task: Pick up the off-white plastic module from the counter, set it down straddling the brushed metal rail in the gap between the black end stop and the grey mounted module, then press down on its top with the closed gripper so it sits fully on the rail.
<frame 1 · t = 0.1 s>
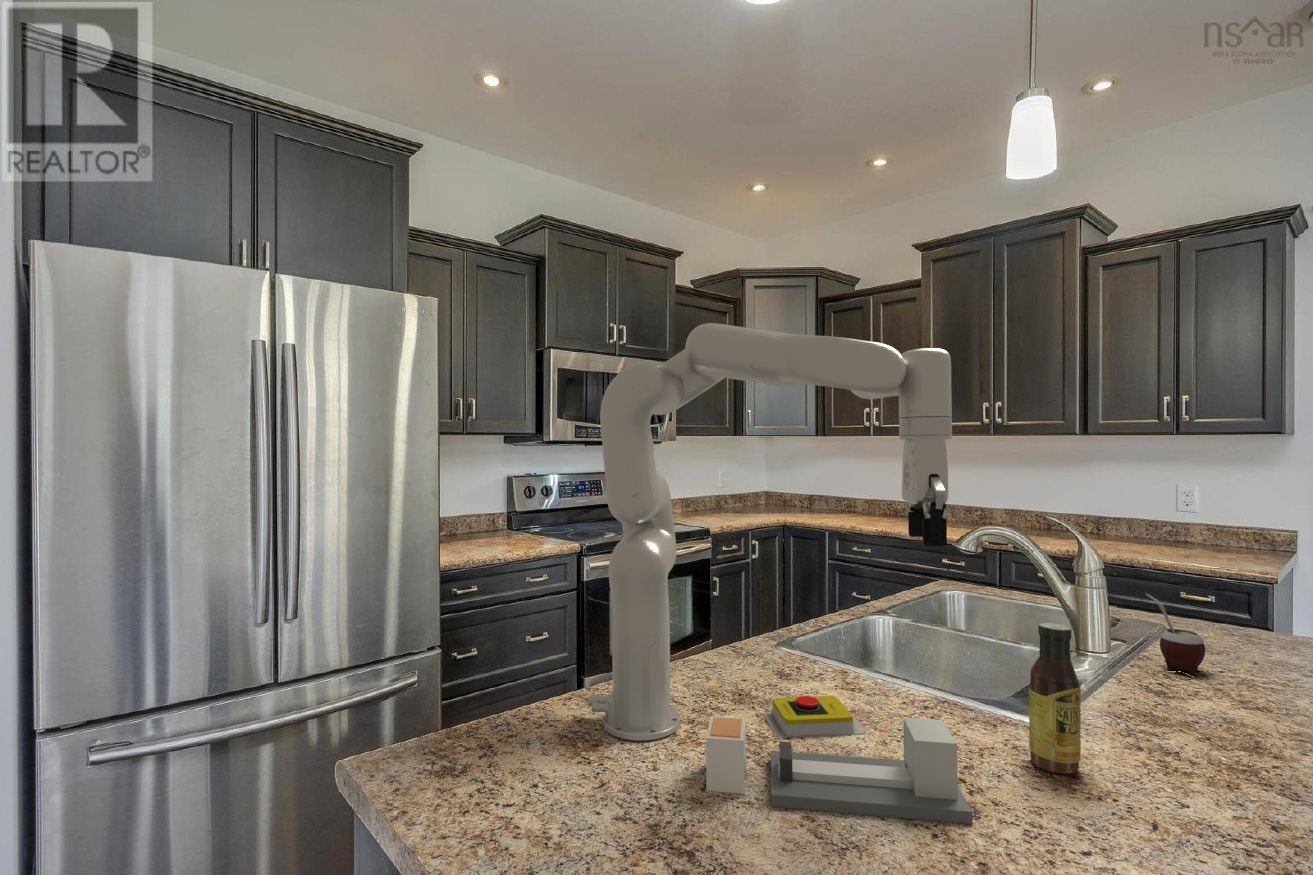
hand: (926, 540, 99), 31 cm above the countertop, tool pointing down, fingers open, 9 cm apart
rail board: (862, 789, 86), on the countertop
emergency button: (813, 727, 106), on the countertop
module: (727, 778, 89), on the countertop
sauce bottle: (1055, 767, 92), on the countertop
mate gourd: (1179, 672, 129), on the countertop
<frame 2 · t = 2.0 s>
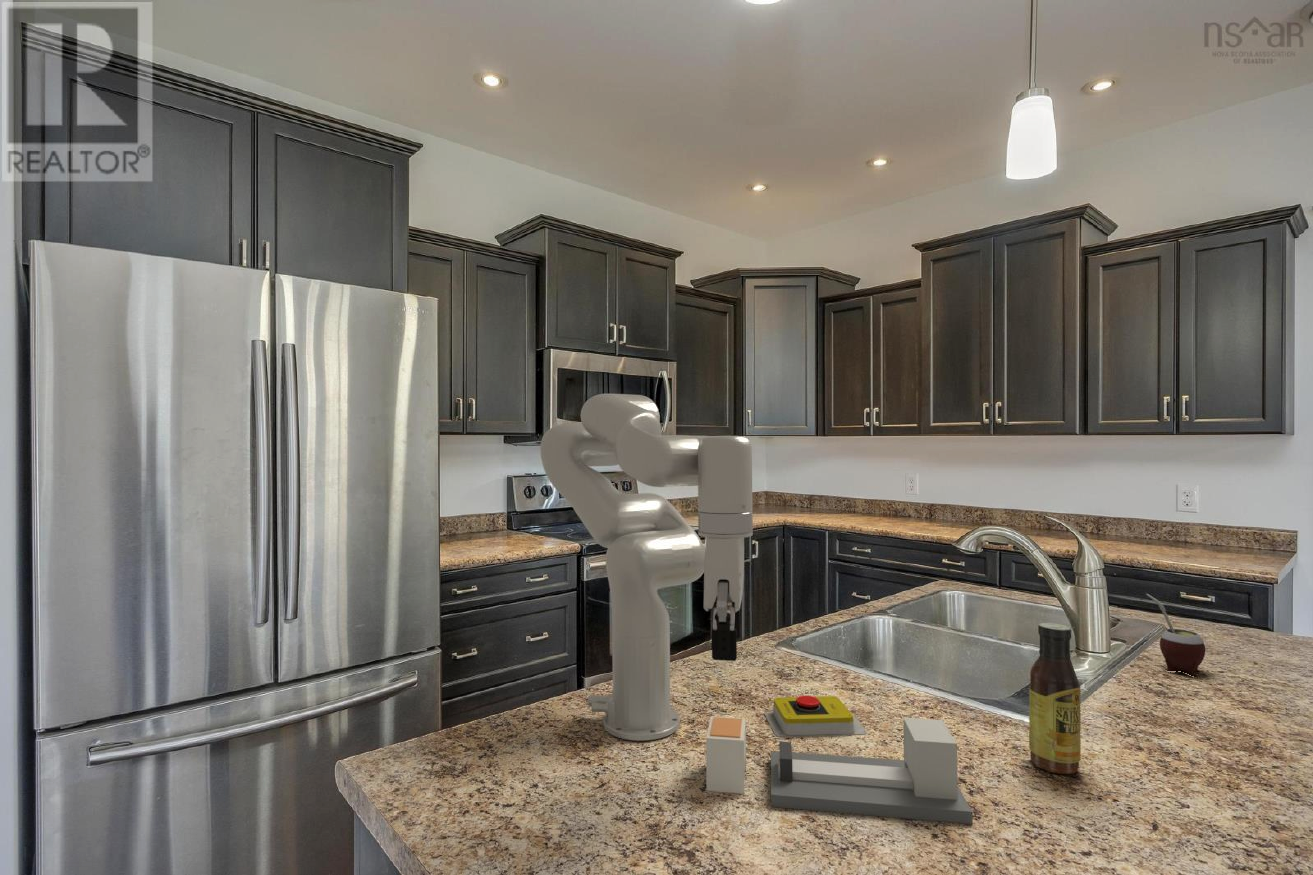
hand: (726, 648, 89), 18 cm above the countertop, tool pointing down, fingers open, 9 cm apart
nothing on the countertop moved.
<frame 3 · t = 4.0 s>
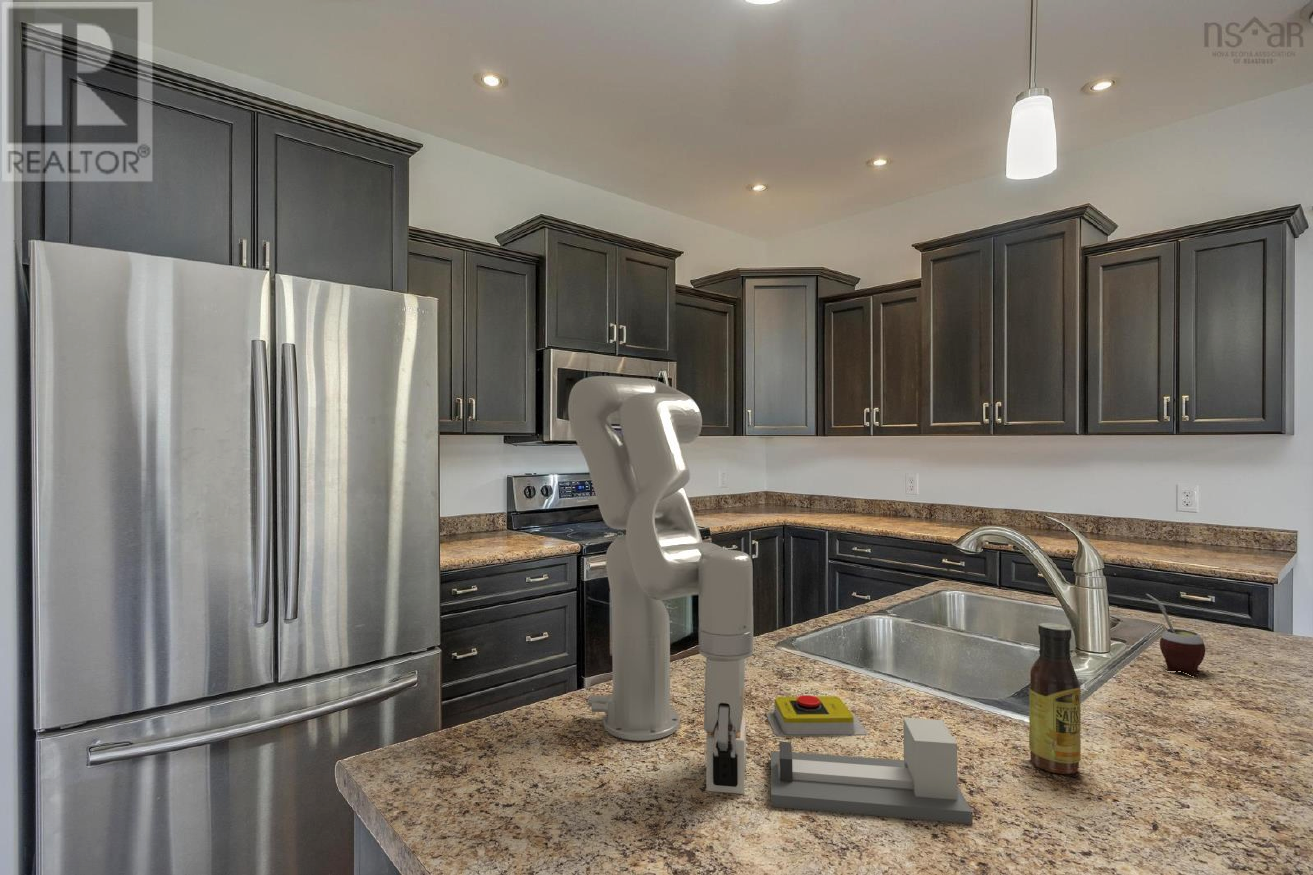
hand: (727, 769, 89), 1 cm above the countertop, tool pointing down, fingers closed on module, 7 cm apart
module: (727, 779, 89), on the countertop, touching gripper
everything else where it was.
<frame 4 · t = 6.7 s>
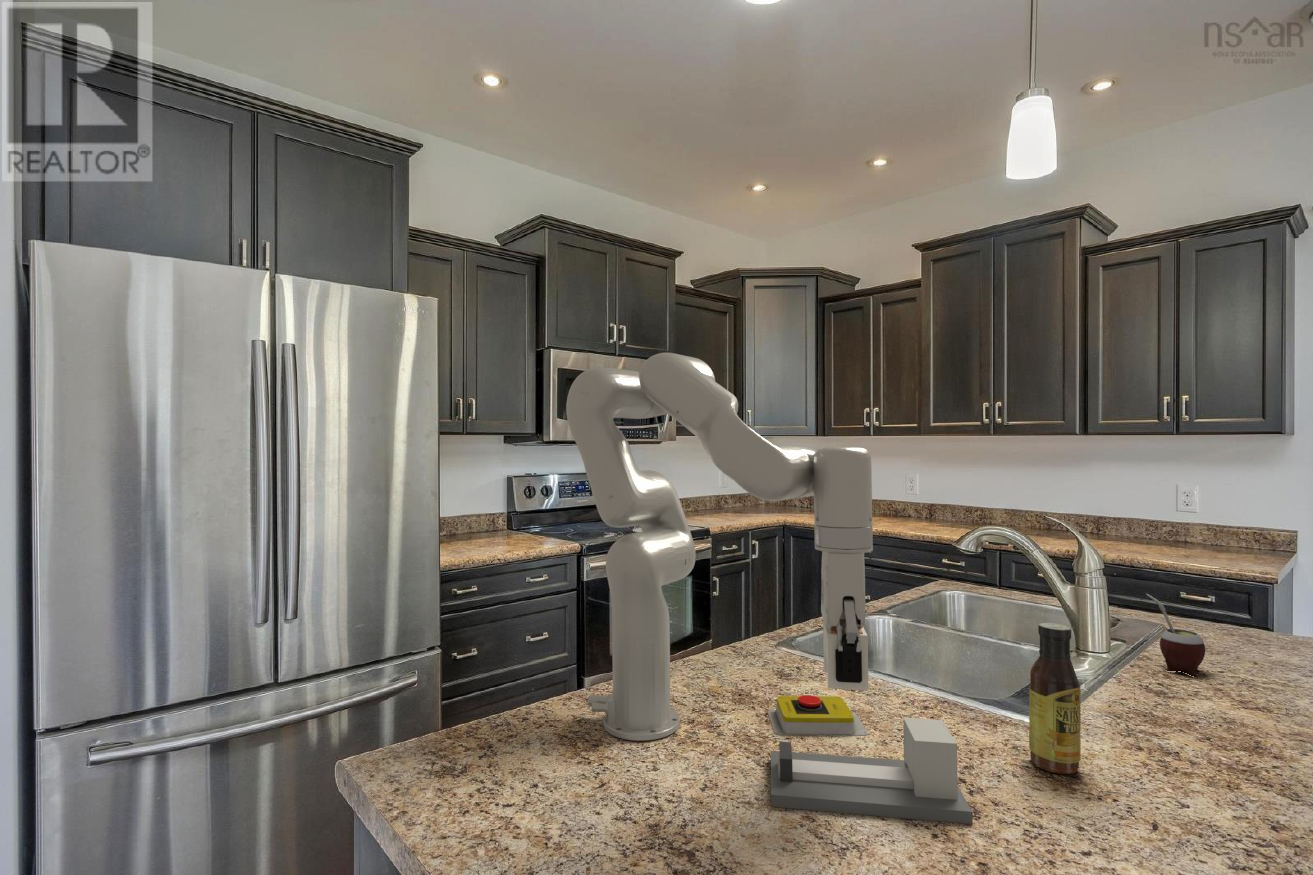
hand: (845, 670, 86), 16 cm above the countertop, tool pointing down, fingers closed on module, 7 cm apart
module: (845, 679, 86), point 15 cm above the countertop, touching gripper
everything else where it was.
when the fingers open (4 cm above the countertop, at t = 9.4 s): module stays where it is, resting on rail board.
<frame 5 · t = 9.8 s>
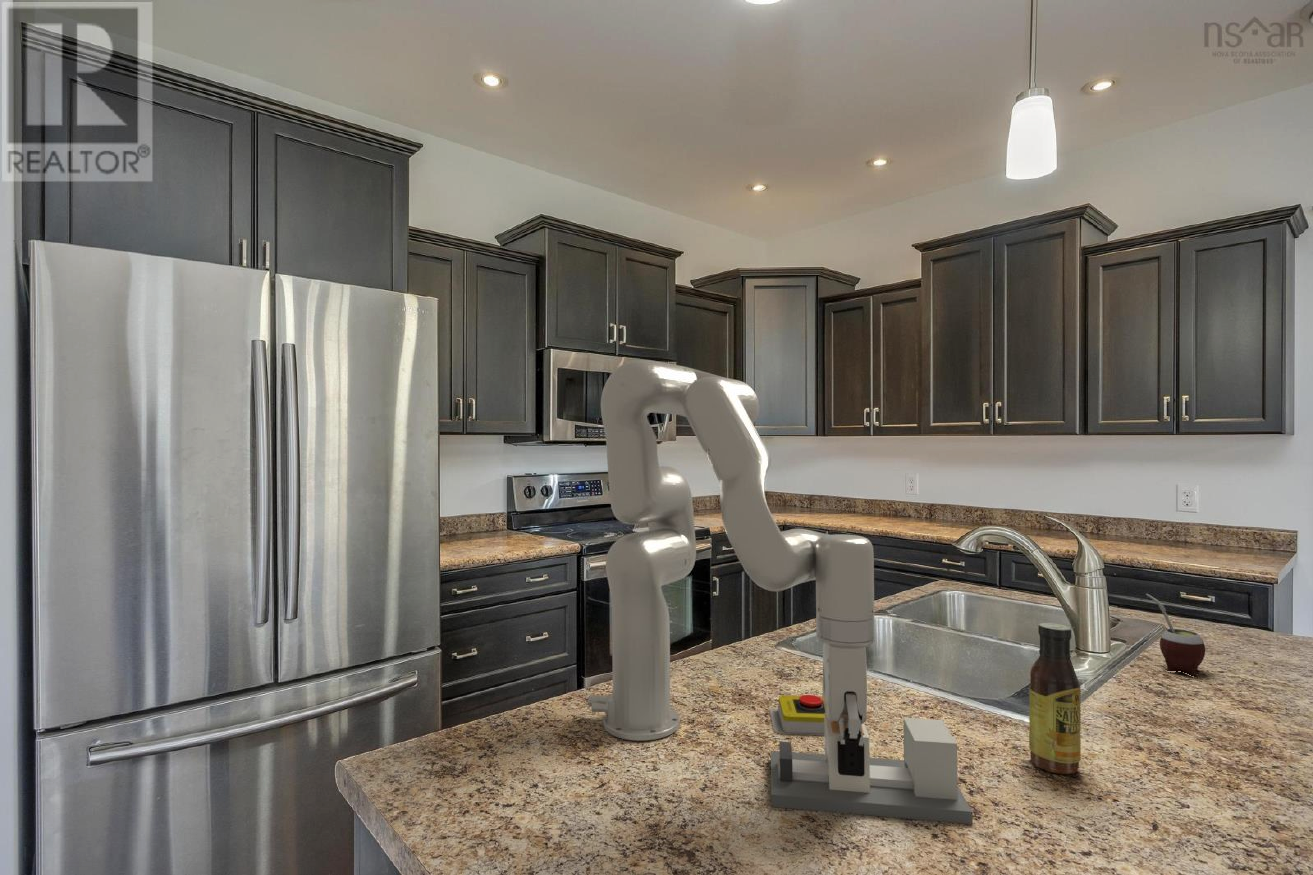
hand: (846, 756, 86), 4 cm above the countertop, tool pointing down, fingers open, 9 cm apart
module: (846, 777, 86), point 1 cm above the countertop, touching rail board
everything else where it was.
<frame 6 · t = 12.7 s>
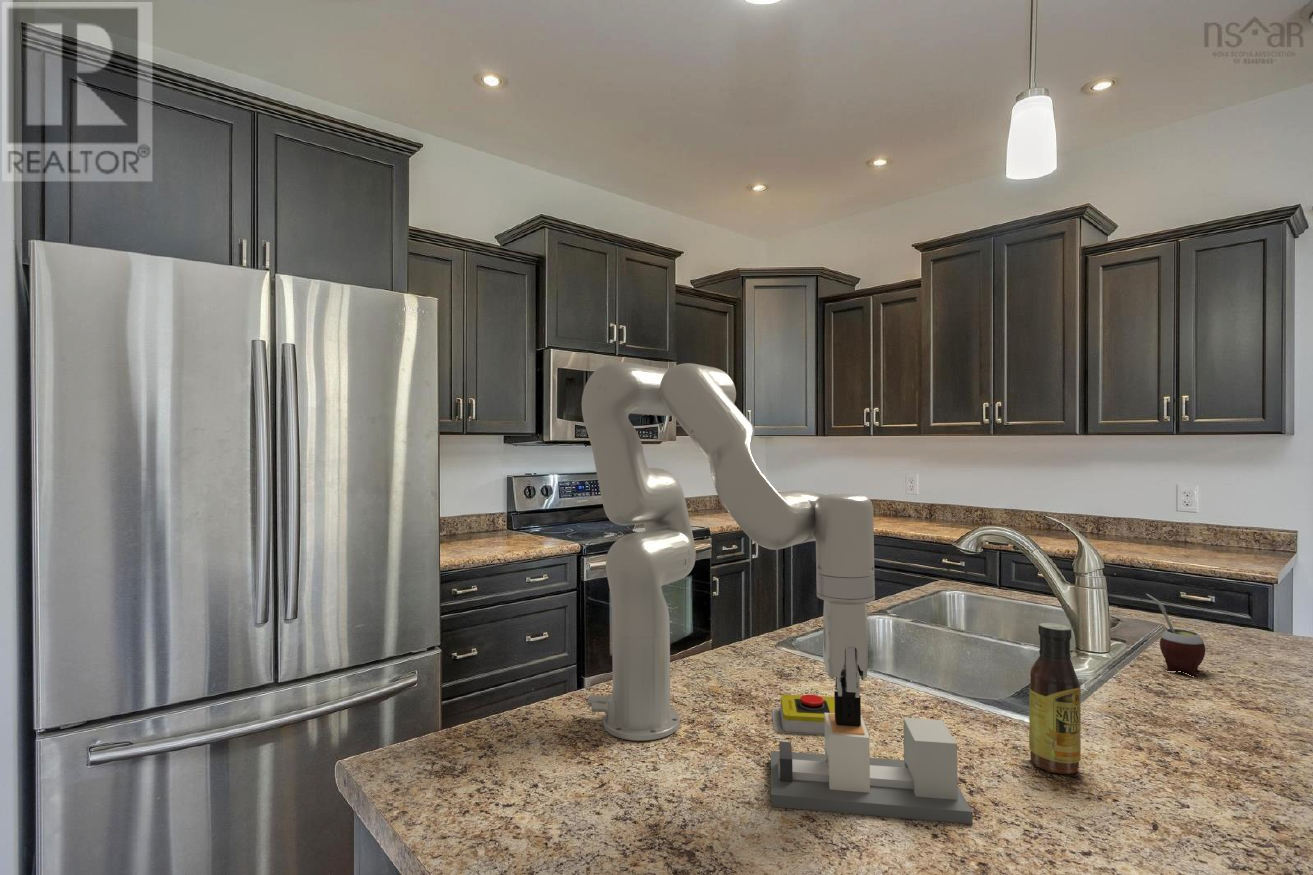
hand: (847, 723, 86), 9 cm above the countertop, tool pointing down, fingers closed
module: (846, 777, 86), point 2 cm above the countertop, touching gripper, rail board
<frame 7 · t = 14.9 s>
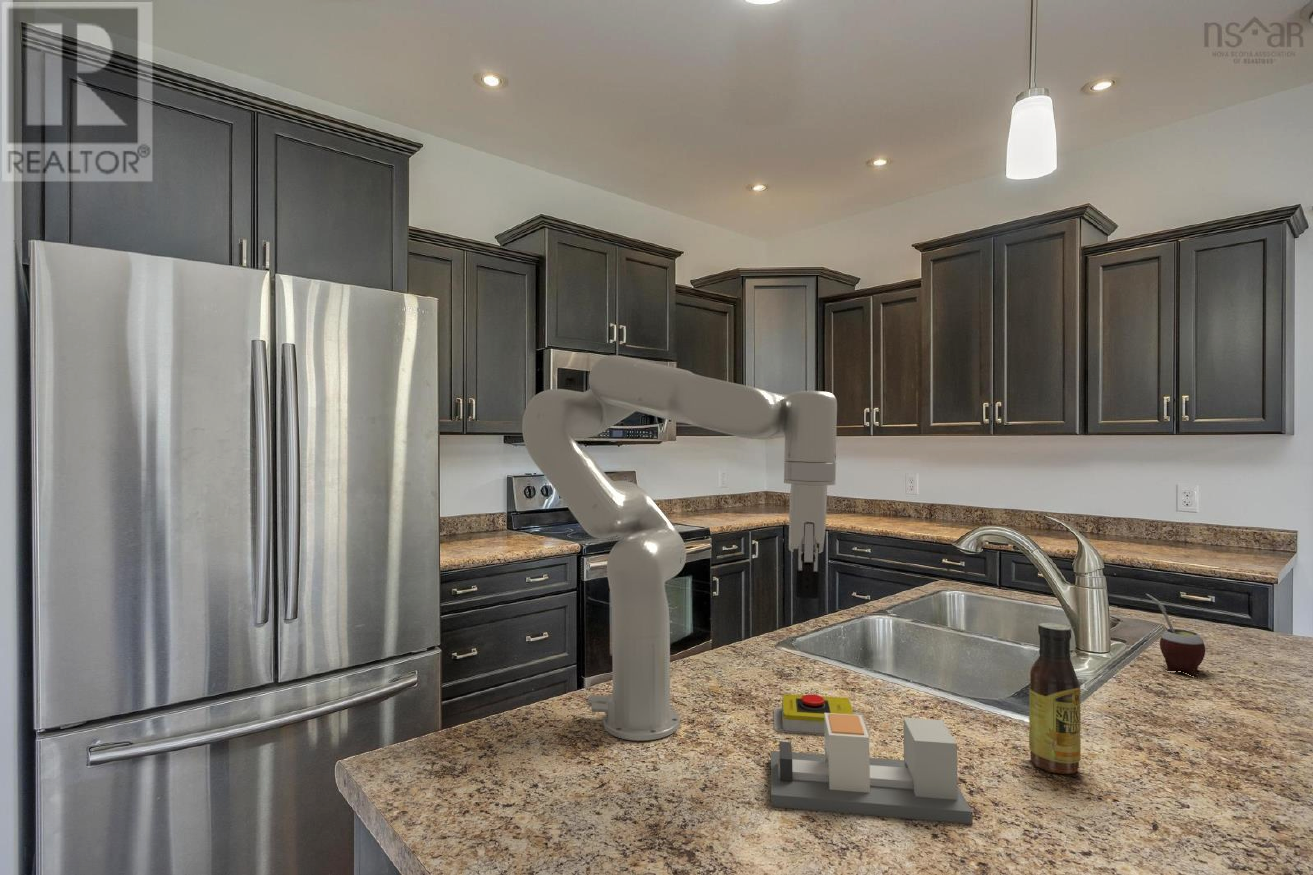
hand: (807, 596, 96), 23 cm above the countertop, tool pointing down, fingers closed
module: (846, 777, 86), point 1 cm above the countertop, touching rail board
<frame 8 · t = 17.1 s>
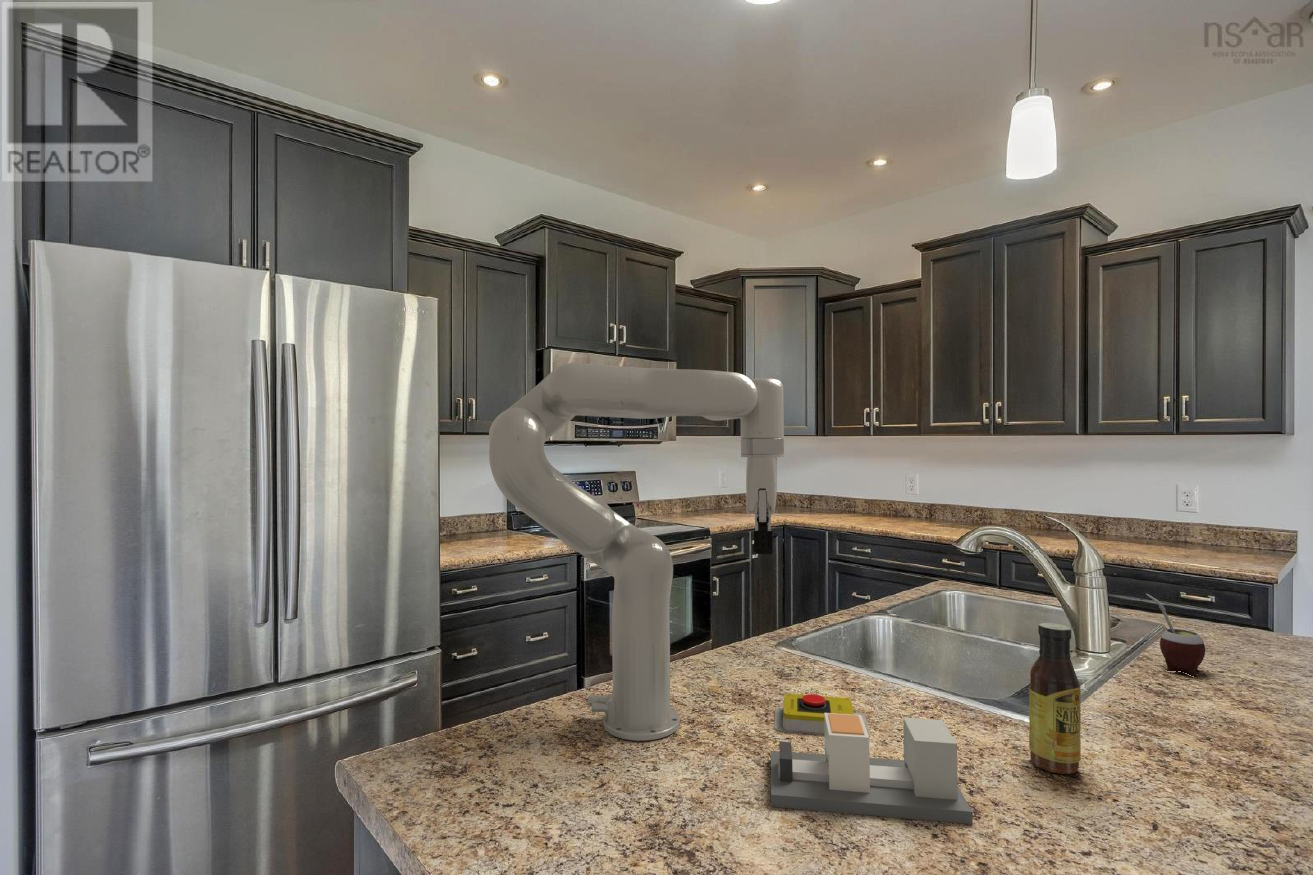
hand: (763, 553, 113), 27 cm above the countertop, tool pointing down, fingers closed
at the end: module 0.1 cm from the target spot on the rail board, point 1.5 cm above the rail board's base; module tilted 0°; the gripper is holding nothing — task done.
